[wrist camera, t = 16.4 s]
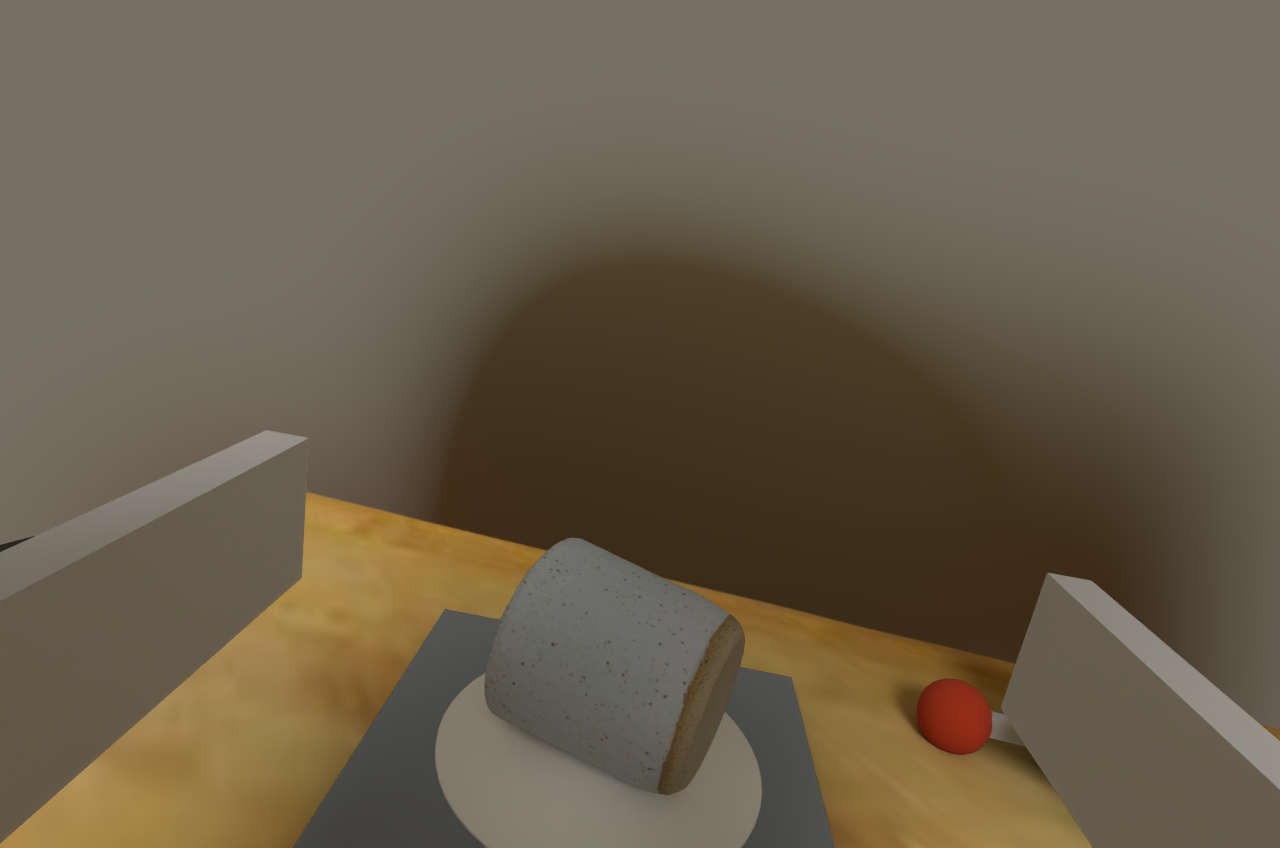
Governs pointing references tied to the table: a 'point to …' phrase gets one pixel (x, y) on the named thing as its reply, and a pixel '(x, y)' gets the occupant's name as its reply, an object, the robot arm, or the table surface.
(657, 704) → the ceramic mug
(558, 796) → the mat
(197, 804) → the table surface
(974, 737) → the lever
